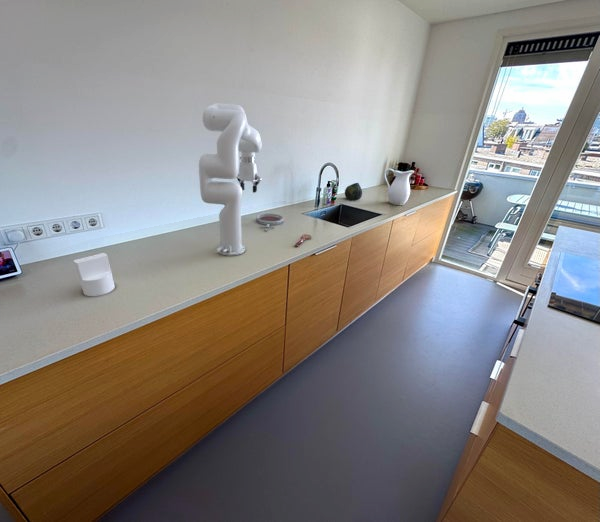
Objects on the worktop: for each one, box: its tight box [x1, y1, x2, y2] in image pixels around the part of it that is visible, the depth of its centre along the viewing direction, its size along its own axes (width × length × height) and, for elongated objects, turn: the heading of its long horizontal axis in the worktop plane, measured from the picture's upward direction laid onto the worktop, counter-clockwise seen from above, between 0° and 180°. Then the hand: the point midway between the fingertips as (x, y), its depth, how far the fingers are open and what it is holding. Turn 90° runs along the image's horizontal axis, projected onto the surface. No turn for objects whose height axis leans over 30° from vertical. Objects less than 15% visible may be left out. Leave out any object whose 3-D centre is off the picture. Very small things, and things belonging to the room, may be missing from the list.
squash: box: [344, 182, 363, 201], centre depth 244 cm, size 14×15×15 cm
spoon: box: [294, 233, 312, 248], centre depth 151 cm, size 18×5×2 cm, turn 158°
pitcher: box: [383, 168, 415, 206], centre depth 240 cm, size 24×17×28 cm
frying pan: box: [255, 212, 285, 232], centre depth 173 cm, size 17×3×28 cm
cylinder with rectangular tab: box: [73, 252, 116, 297], centre depth 97 cm, size 9×9×12 cm
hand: (248, 191), depth 170 cm, fingers open, 7 cm apart
